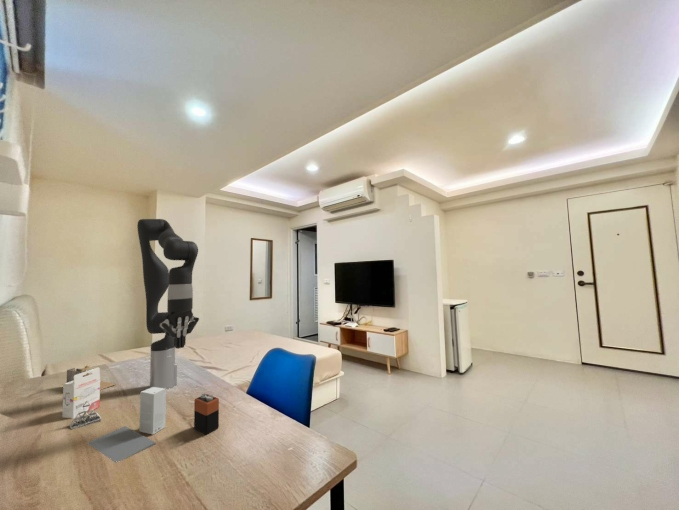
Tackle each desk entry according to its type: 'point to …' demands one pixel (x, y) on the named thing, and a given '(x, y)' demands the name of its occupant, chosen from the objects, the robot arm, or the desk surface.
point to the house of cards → (85, 421)
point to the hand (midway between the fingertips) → (179, 347)
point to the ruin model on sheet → (72, 372)
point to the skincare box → (152, 410)
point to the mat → (121, 444)
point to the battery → (206, 413)
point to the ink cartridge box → (81, 393)
